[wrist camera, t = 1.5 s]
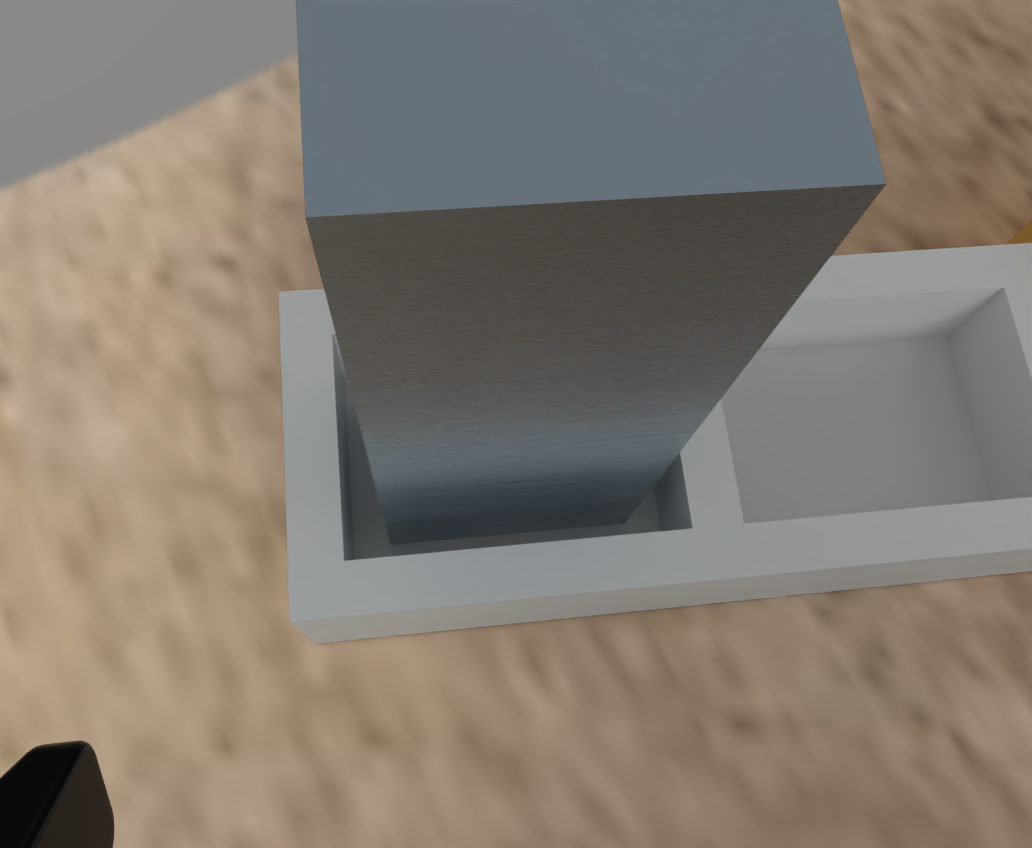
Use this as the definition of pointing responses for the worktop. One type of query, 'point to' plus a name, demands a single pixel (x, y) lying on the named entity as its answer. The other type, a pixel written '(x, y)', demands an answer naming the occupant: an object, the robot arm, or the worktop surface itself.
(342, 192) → the brushed metal pillar
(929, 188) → the worktop surface
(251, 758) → the worktop surface
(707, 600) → the rack
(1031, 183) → the worktop surface
